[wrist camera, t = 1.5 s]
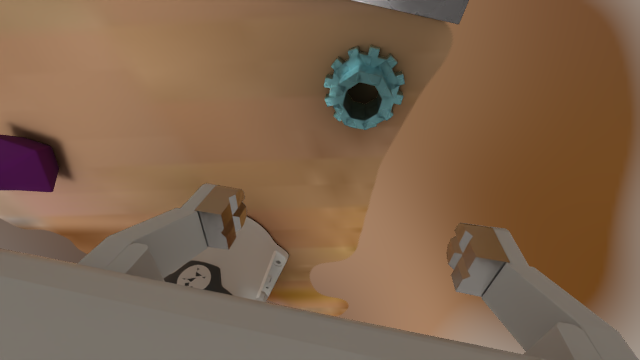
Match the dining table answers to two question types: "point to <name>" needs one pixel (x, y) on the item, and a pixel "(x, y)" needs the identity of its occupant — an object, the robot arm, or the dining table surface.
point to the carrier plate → (426, 8)
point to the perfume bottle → (26, 165)
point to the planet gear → (369, 72)
